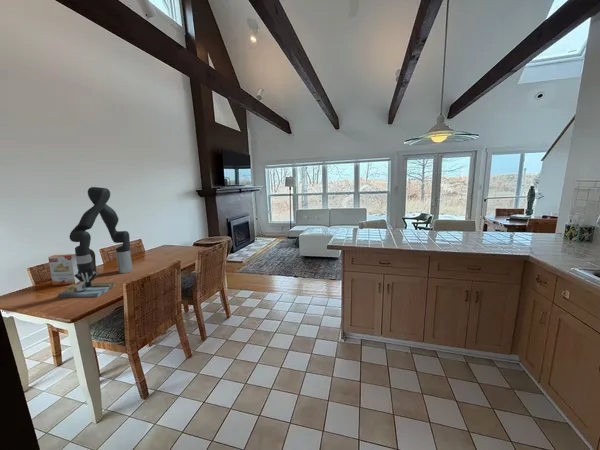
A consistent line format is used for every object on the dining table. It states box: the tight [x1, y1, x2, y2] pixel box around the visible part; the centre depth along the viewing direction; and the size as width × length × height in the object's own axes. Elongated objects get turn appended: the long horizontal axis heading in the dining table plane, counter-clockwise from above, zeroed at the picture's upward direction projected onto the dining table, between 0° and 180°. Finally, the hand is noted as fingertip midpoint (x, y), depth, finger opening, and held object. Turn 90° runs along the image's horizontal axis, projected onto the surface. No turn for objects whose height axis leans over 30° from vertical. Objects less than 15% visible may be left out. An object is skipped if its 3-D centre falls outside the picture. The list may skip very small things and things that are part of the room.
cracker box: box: [47, 253, 81, 286], centre depth 179 cm, size 14×6×21 cm, turn 101°
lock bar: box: [76, 281, 86, 291], centre depth 167 cm, size 14×3×4 cm, turn 20°
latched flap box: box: [57, 281, 117, 298], centre depth 167 cm, size 17×24×6 cm
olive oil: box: [89, 248, 97, 276], centre depth 198 cm, size 11×11×25 cm
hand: (88, 287), depth 165 cm, fingers closed
